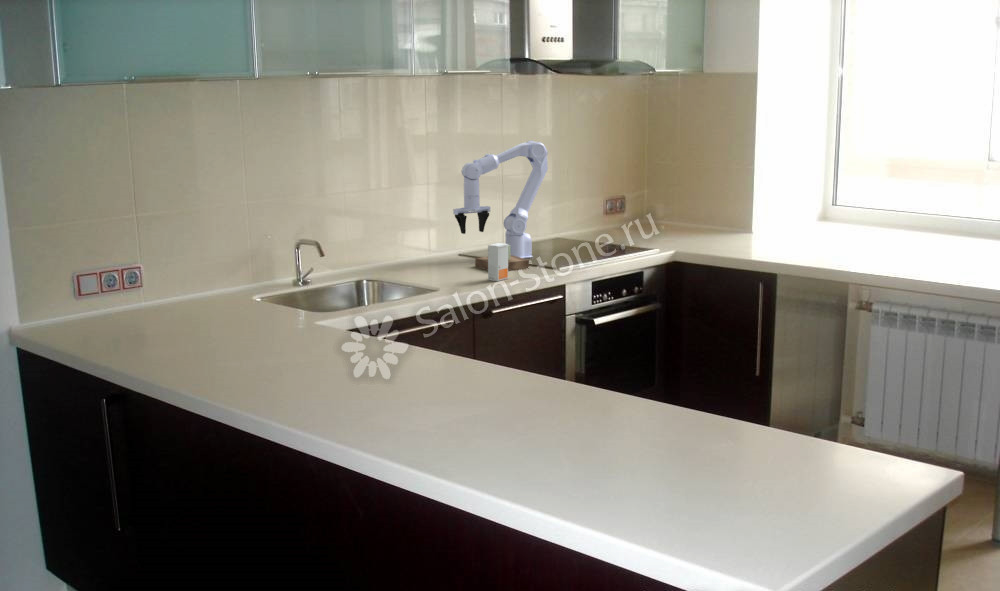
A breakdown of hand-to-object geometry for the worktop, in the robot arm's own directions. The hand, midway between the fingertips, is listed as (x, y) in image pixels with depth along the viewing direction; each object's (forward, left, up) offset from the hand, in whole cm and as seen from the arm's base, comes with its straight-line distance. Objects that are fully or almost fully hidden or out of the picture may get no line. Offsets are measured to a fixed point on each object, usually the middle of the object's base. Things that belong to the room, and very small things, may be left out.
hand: (472, 232), depth 368 cm
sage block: (-2, +18, -7) cm, 20 cm away
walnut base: (-2, +18, -10) cm, 21 cm away
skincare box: (+10, +36, -11) cm, 39 cm away
